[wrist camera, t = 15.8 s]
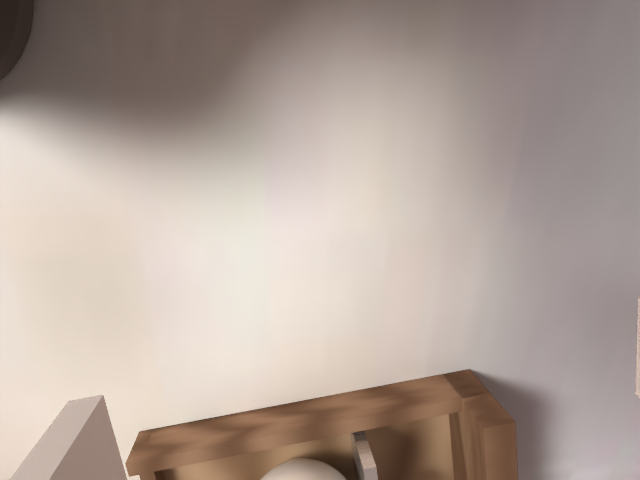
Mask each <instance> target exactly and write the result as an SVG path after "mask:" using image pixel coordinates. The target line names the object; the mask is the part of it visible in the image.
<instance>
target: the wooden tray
mask: <svg viewBox="0 0 640 480" xmlns="http://www.w3.org/2000/svg"><path fill="white" fill-rule="evenodd" d="M359 431H365V434H366V437H367V440H368V443H369V446H370V449H371V452H372V455H373V458H374V461H375V464H376V468H377V476H378V480H518V474H517V450H516V426H515V421H514V420H513V419H512V418H511V417H510V415H509V414H508V413H507V412H506V411H505V410H504V409H503V407H502V406H501V405H500V404H499V403H498V402H497V400H496V399H495V398H494V397H493V396H492V395H491V394H490V392H489V391H488V390H487V389H486V388H485V387H484V386H483V384H482V383H481V382H480V381H479V380H478V379H477V377H476V376H475V375H474V374H473V373H472V372H471V371H470V369H468V370H463V371H458V372H452V373H447V374H442V375H436V376H431V377H426V378H421V379H415V380H410V381H405V382H399V383H394V384H389V385H384V386H378V387H373V388H368V389H362V390H357V391H352V392H347V393H341V394H336V395H331V396H325V397H320V398H315V399H310V400H304V401H299V402H294V403H288V404H283V405H278V406H273V407H267V408H262V409H257V410H251V411H246V412H241V413H236V414H230V415H225V416H220V417H214V418H209V419H204V420H199V421H193V422H188V423H183V424H177V425H172V426H167V427H162V428H156V429H151V430H146V431H140V432H139V434H138V436H137V438H136V441H135V443H134V445H133V448H132V450H131V452H130V455H129V457H128V459H127V461H126V467H127V471H128V474H129V477H130V476H135V475H140V479H141V480H260V479H261V478H262V477H263V476H264V475H265V474H266V473H267V472H268V471H270V470H271V469H273V468H274V467H276V466H277V465H279V464H281V463H284V462H286V461H288V460H291V459H296V458H309V459H314V460H318V461H321V462H324V463H326V464H328V465H330V466H332V467H333V468H335V469H337V470H338V471H339V472H340V473H341V474H342V475H343V476H344V477H345V478H346V479H347V480H357V478H356V471H355V464H354V457H353V450H352V442H351V435H350V433H354V432H359Z"/></svg>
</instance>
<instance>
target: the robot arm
mask: <svg viewBox="0 0 640 480" xmlns="http://www.w3.org/2000/svg"><path fill="white" fill-rule="evenodd" d="M32 16H33V0H0V80H1V79H2V78H3V77H4V76H5V75H6V74H7V73H8V72H9V71H10V70H11V69H12V67H13V66H14V65H15V63H16V62H17V60H18V59H19V57H20V55H21V54H22V52H23V49H24V47H25V45H26V42H27V40H28V36H29V33H30V29H31V23H32ZM635 395H637V396H638V397H639V398H640V297H639V298H638V326H637V359H636V392H635ZM10 480H127V478H126V474H125V471H124V467H123V464H122V460H121V456H120V453H119V449H118V446H117V442H116V439H115V435H114V432H113V428H112V425H111V421H110V418H109V414H108V411H107V407H106V403H105V400H104V396H103V395H100V396H95V397H89V398H84V399H78V400H73V401H68V403H67V404H66V405H65V407H64V408H63V409H62V411H61V412H60V413H59V415H58V416H57V417H56V419H55V420H54V421H53V423H52V424H51V425H50V427H49V428H48V429H47V431H46V432H45V433H44V435H43V436H42V437H41V439H40V440H39V441H38V443H37V444H36V445H35V447H34V448H33V449H32V451H31V452H30V453H29V455H28V456H27V457H26V459H25V460H24V461H23V462H22V464H21V465H20V466H19V468H18V469H17V470H16V472H15V473H14V474H13V476H12V477H11V478H10Z"/></svg>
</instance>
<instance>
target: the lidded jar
mask: <svg viewBox="0 0 640 480" xmlns="http://www.w3.org/2000/svg"><path fill="white" fill-rule="evenodd" d="M260 480H347V479H346V478H345V477H344V476H343V475H342V474H341V473H340V472H339V471H338V470H337V469H335V468H333V467H332V466H330V465H328V464H326V463H324V462H321V461H318V460H314V459H309V458H296V459H291V460H288V461H286V462H284V463H281V464H279V465H277V466H276V467H274V468H273V469H271V470H270V471H268V472H267V473H266V474H265V475H264V476H263V477H262V478H261V479H260Z"/></svg>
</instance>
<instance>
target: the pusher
mask: <svg viewBox="0 0 640 480" xmlns="http://www.w3.org/2000/svg"><path fill="white" fill-rule="evenodd" d="M350 435H351V442H352V450H353V457H354V464H355V471H356V478H357V480H378V476H377V468H376V464H375V461H374V458H373V455H372V452H371V449H370V446H369V443H368V440H367V437H366V434H365V431H359V432H354V433H350Z"/></svg>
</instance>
